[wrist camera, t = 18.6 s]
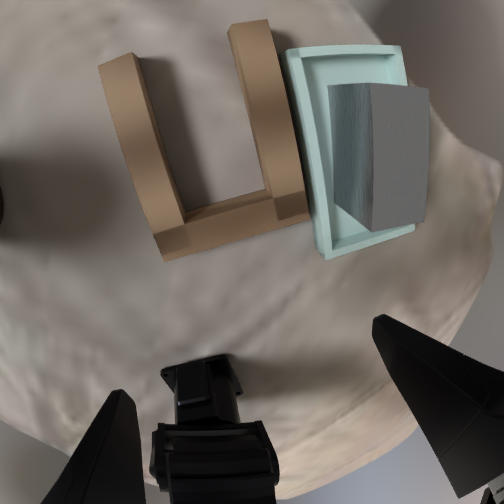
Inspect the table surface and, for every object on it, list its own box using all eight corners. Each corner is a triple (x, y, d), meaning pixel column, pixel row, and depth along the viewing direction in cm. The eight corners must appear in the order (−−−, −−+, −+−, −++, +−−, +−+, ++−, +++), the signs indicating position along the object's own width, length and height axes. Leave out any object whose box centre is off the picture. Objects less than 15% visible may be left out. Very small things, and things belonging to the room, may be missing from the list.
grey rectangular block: (381, 195, 20) (423, 221, 16) (333, 202, 20) (371, 232, 15) (379, 86, 16) (428, 88, 12) (327, 85, 16) (369, 82, 11)
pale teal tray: (401, 221, 22) (414, 230, 21) (316, 248, 22) (325, 260, 20) (385, 48, 15) (400, 46, 14) (279, 53, 15) (288, 49, 13)
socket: (299, 208, 20) (309, 219, 18) (166, 247, 20) (164, 262, 18) (259, 27, 14) (267, 19, 12) (107, 69, 13) (97, 66, 12)
